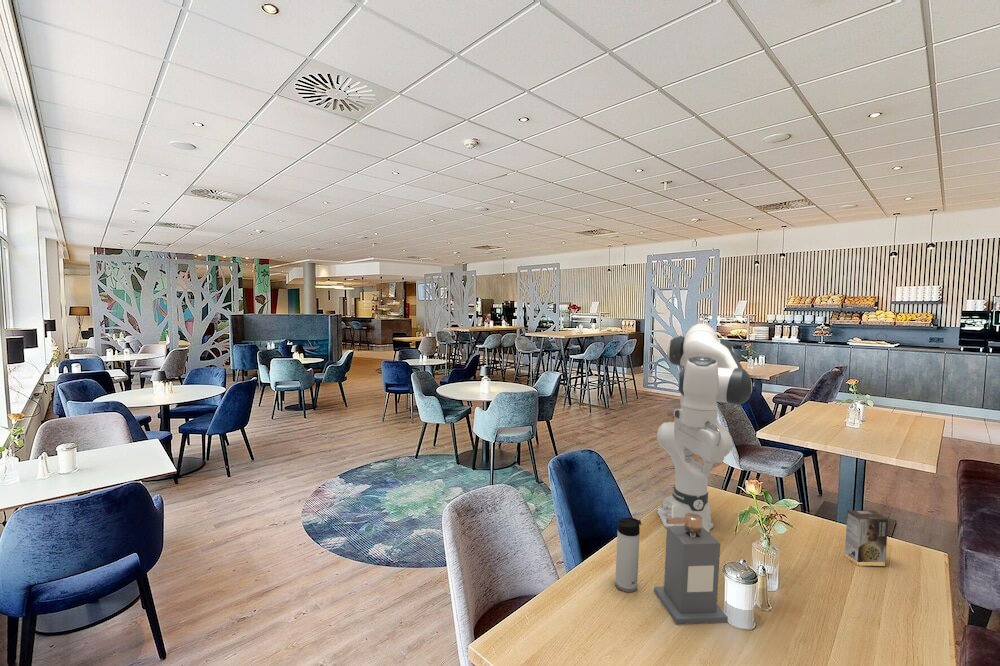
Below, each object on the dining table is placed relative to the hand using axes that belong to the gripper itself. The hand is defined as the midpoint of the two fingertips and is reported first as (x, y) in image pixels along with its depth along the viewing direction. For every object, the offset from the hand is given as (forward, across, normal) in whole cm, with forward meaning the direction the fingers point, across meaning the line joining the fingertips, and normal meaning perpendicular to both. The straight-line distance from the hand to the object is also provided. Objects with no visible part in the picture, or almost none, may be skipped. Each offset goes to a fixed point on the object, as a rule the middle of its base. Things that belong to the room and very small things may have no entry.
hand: (696, 468), depth 128 cm
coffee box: (+39, +19, -70) cm, 82 cm away
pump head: (+33, 0, +3) cm, 33 cm away
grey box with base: (+39, 0, 0) cm, 39 cm away
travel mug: (+39, +10, +14) cm, 43 cm away
